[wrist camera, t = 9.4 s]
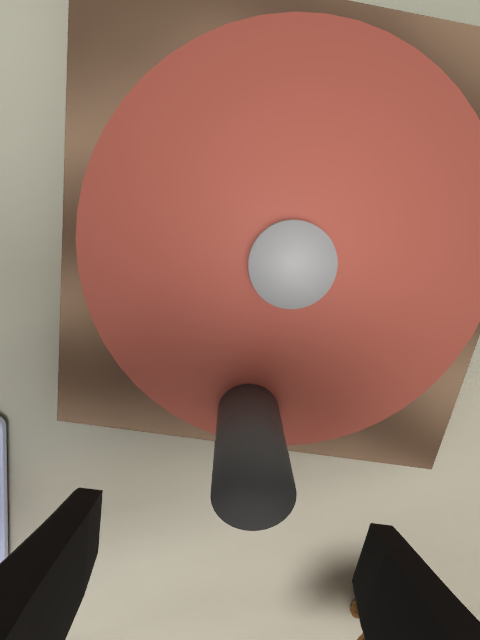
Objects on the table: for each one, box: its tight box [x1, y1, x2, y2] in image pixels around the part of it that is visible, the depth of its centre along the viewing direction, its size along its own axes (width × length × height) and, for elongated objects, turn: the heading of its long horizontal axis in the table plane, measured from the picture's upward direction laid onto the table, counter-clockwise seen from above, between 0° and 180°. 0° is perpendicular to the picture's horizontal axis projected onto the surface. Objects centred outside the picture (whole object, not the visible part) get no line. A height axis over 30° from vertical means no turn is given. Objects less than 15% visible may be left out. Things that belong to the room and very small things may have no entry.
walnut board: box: [57, 0, 480, 469], centre depth 17 cm, size 18×18×2 cm
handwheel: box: [76, 12, 480, 531], centre depth 13 cm, size 16×16×6 cm
